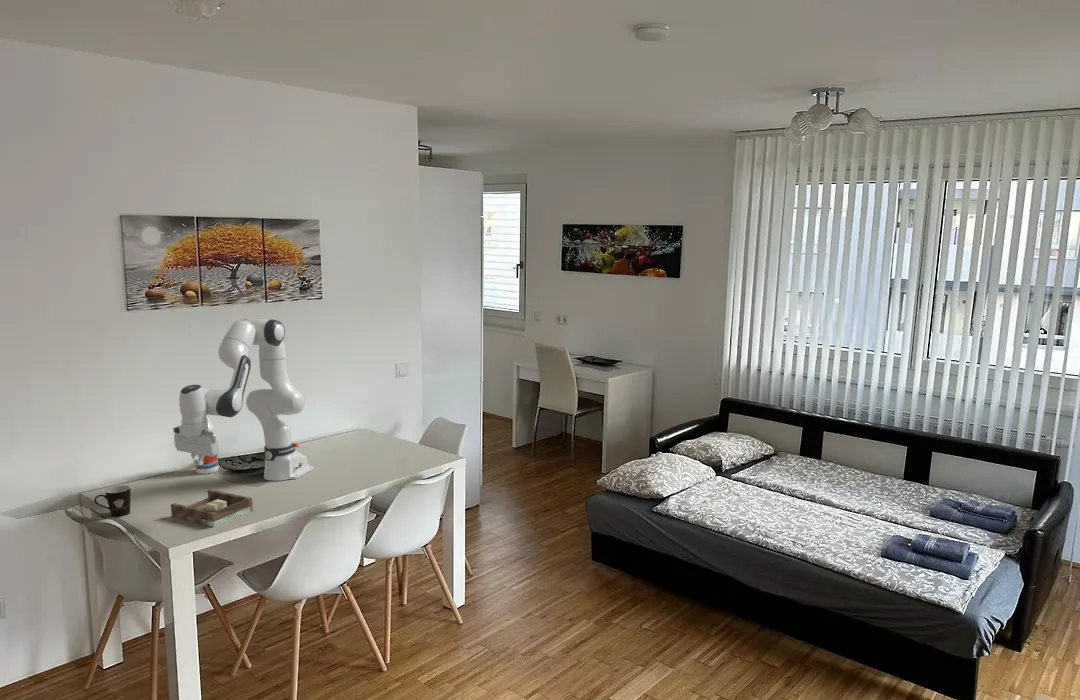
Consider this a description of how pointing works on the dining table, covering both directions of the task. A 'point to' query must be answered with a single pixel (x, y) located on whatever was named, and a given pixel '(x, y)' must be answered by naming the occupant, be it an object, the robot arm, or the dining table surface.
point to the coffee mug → (117, 500)
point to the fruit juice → (208, 458)
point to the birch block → (216, 505)
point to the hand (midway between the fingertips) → (198, 464)
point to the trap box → (202, 516)
